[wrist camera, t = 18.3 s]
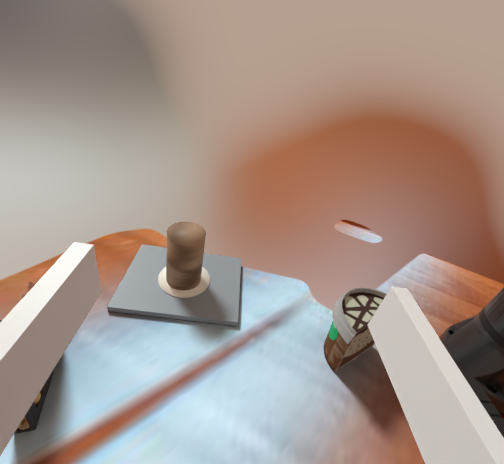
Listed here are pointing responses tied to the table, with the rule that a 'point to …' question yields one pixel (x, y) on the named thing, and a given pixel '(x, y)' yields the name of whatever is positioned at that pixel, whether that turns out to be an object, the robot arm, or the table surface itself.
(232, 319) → the seat board
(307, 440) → the table surface
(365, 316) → the food container
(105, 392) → the table surface
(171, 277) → the brown cylinder
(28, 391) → the robot arm
